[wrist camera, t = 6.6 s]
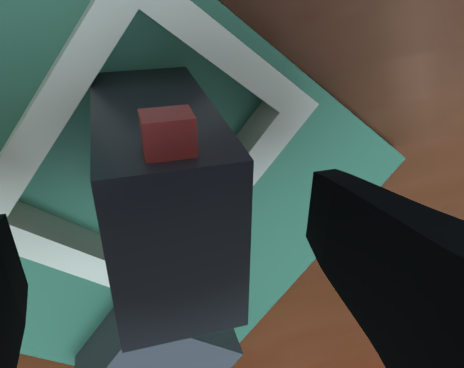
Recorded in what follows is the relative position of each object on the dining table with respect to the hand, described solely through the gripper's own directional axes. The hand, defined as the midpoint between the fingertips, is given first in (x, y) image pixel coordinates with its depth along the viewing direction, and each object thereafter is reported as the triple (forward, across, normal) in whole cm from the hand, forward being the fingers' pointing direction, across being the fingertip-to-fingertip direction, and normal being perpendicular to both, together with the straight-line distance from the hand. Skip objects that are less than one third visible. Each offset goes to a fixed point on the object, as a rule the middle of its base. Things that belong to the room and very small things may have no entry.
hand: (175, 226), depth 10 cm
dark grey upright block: (+6, 0, 0) cm, 6 cm away
